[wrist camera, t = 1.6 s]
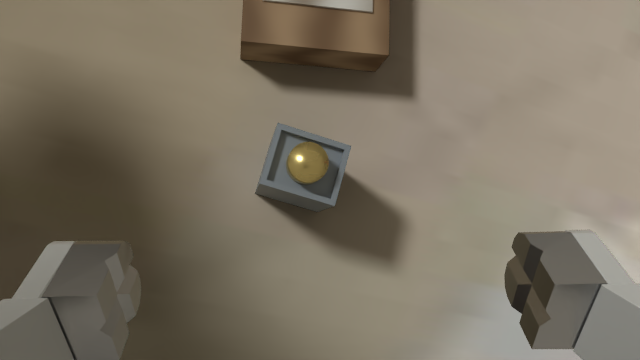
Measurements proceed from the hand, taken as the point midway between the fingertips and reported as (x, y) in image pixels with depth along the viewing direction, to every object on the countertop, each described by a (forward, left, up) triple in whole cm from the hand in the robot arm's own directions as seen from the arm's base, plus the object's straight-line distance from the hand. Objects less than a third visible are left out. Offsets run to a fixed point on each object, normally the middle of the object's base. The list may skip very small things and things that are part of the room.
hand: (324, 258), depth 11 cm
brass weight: (+3, +6, -24) cm, 25 cm away
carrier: (+3, +6, -31) cm, 32 cm away
